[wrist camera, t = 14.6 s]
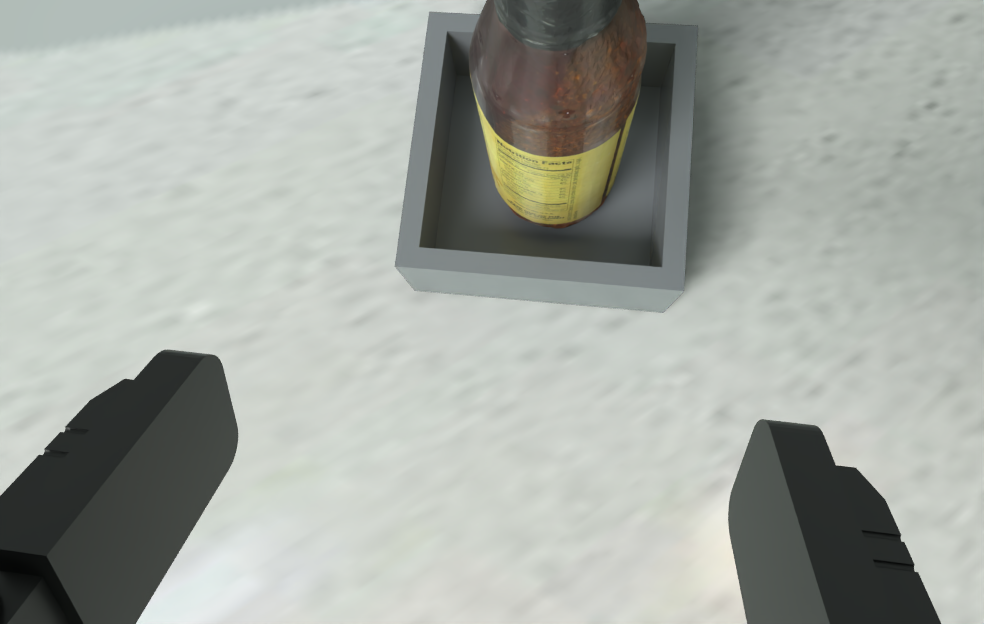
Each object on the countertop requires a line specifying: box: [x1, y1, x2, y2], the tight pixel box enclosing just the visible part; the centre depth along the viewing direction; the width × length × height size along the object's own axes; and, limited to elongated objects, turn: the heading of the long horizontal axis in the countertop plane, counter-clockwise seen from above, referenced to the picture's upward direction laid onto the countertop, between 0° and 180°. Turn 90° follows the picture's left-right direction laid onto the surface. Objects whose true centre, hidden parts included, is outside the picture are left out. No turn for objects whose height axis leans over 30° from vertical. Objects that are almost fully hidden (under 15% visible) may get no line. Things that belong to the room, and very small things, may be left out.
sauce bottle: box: [469, 0, 647, 229], centre depth 25 cm, size 6×6×20 cm
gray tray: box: [395, 12, 698, 313], centre depth 34 cm, size 13×13×5 cm
